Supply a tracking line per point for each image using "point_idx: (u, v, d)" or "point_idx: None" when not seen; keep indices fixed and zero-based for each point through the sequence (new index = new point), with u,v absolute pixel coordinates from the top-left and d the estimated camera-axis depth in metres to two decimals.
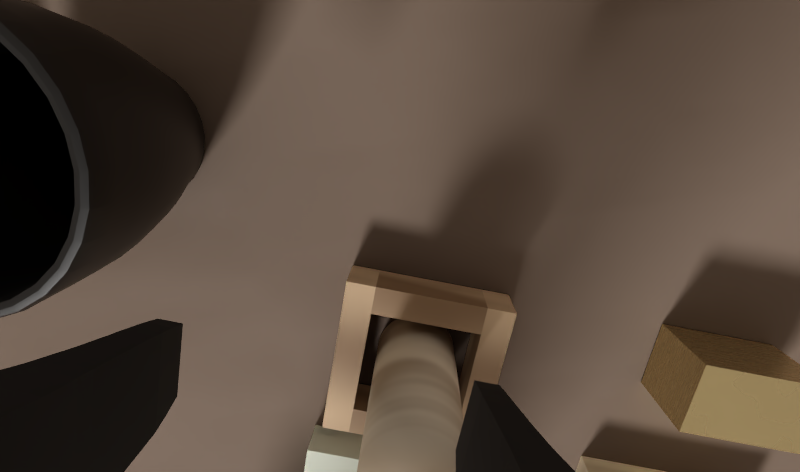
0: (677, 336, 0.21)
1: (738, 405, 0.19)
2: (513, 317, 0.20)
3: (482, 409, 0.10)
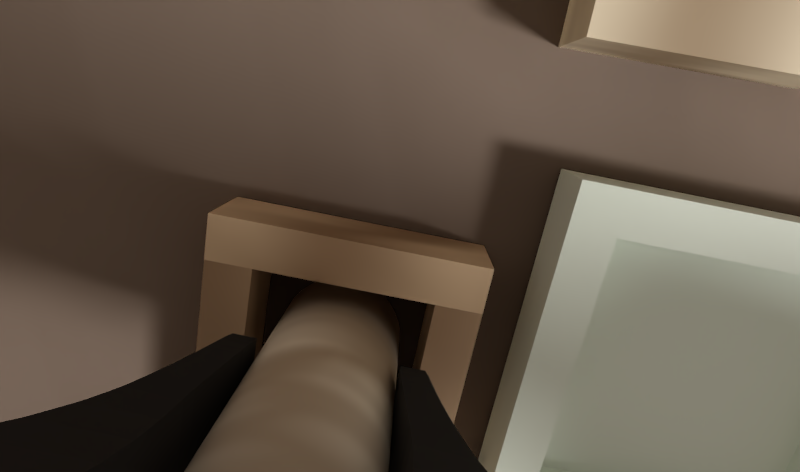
0: None
1: None
2: (216, 217, 0.12)
3: (400, 393, 0.10)
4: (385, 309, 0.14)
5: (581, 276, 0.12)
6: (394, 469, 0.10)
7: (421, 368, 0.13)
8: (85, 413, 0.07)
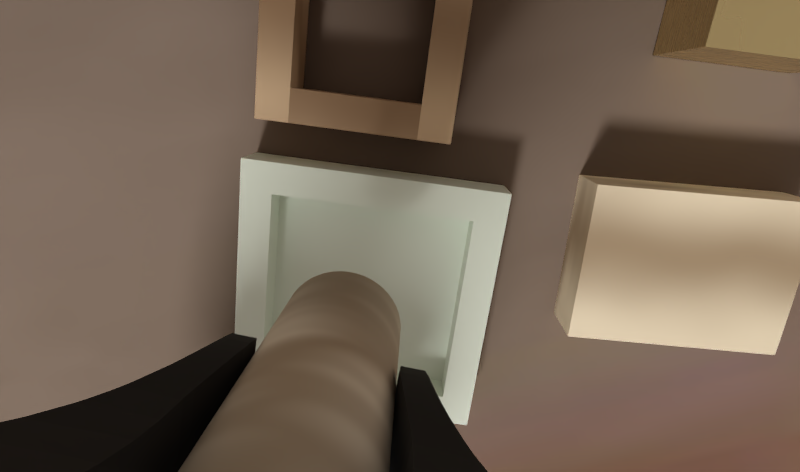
0: None
1: None
2: None
3: (400, 393, 0.10)
4: (384, 299, 0.14)
5: (446, 203, 0.18)
6: (394, 469, 0.10)
7: (370, 99, 0.17)
8: (84, 412, 0.07)
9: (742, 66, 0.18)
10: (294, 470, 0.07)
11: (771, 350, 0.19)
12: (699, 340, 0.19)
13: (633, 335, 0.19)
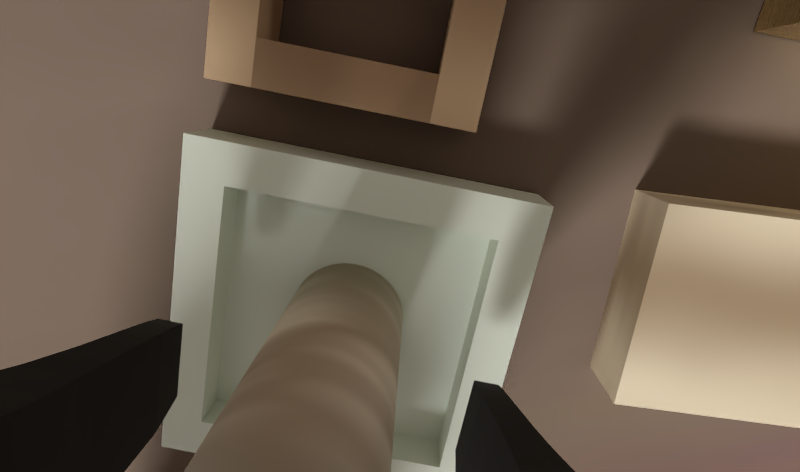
0: None
1: None
2: None
3: (482, 409, 0.10)
4: (386, 290, 0.15)
5: (464, 213, 0.13)
6: None
7: (367, 61, 0.12)
8: None
9: None
10: (307, 439, 0.07)
11: None
12: (789, 416, 0.14)
13: (702, 406, 0.14)
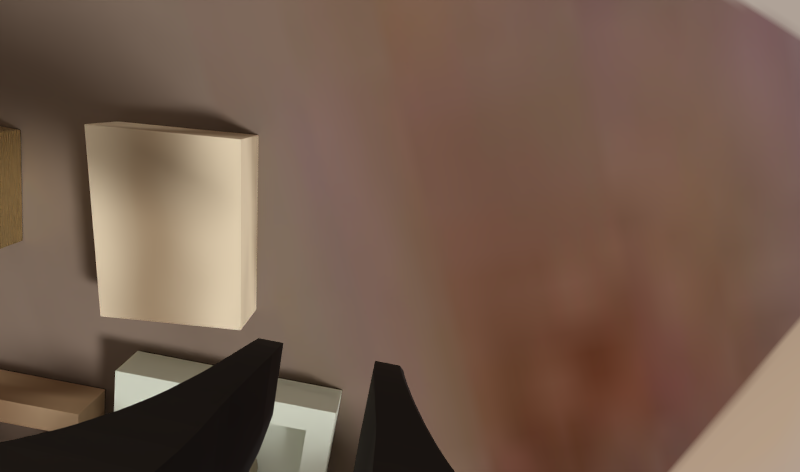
0: None
1: None
2: None
3: (371, 387, 0.10)
4: None
5: None
6: (363, 463, 0.09)
7: None
8: (127, 421, 0.07)
9: (18, 171, 0.21)
10: None
11: (236, 144, 0.19)
12: (232, 215, 0.20)
13: (233, 274, 0.20)
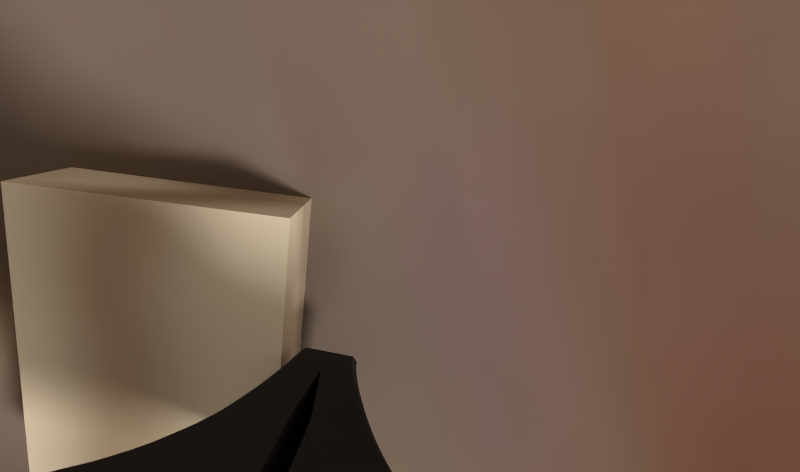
0: None
1: None
2: None
3: (319, 377, 0.10)
4: None
5: None
6: None
7: None
8: (205, 435, 0.07)
9: None
10: None
11: (280, 226, 0.10)
12: (266, 346, 0.11)
13: None
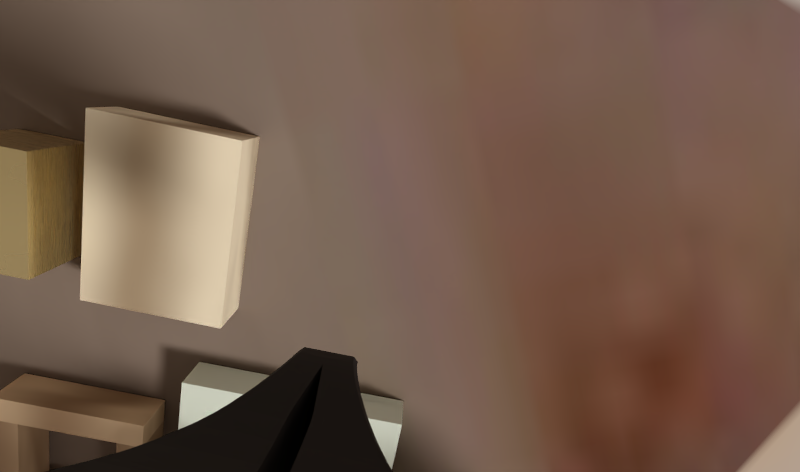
0: None
1: None
2: None
3: (320, 378, 0.10)
4: None
5: None
6: None
7: None
8: (203, 436, 0.07)
9: None
10: None
11: (237, 144, 0.19)
12: (225, 214, 0.20)
13: (220, 272, 0.20)
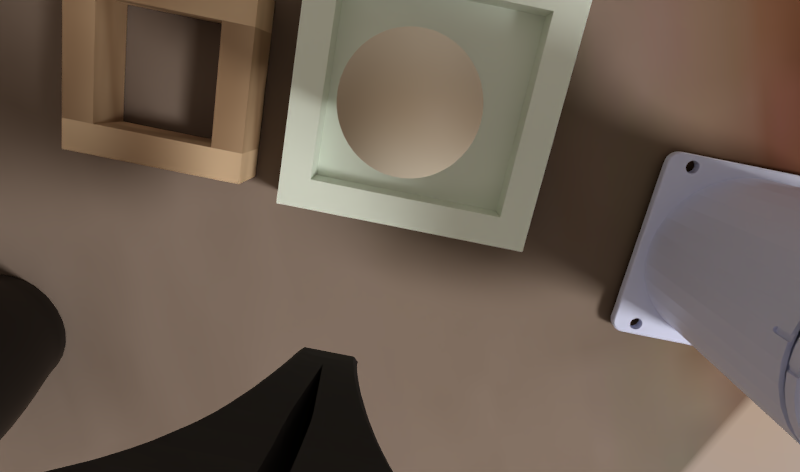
0: None
1: None
2: None
3: (320, 378, 0.10)
4: None
5: None
6: None
7: (218, 72, 0.18)
8: (203, 435, 0.07)
9: None
10: (338, 92, 0.12)
11: None
12: None
13: None
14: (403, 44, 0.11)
